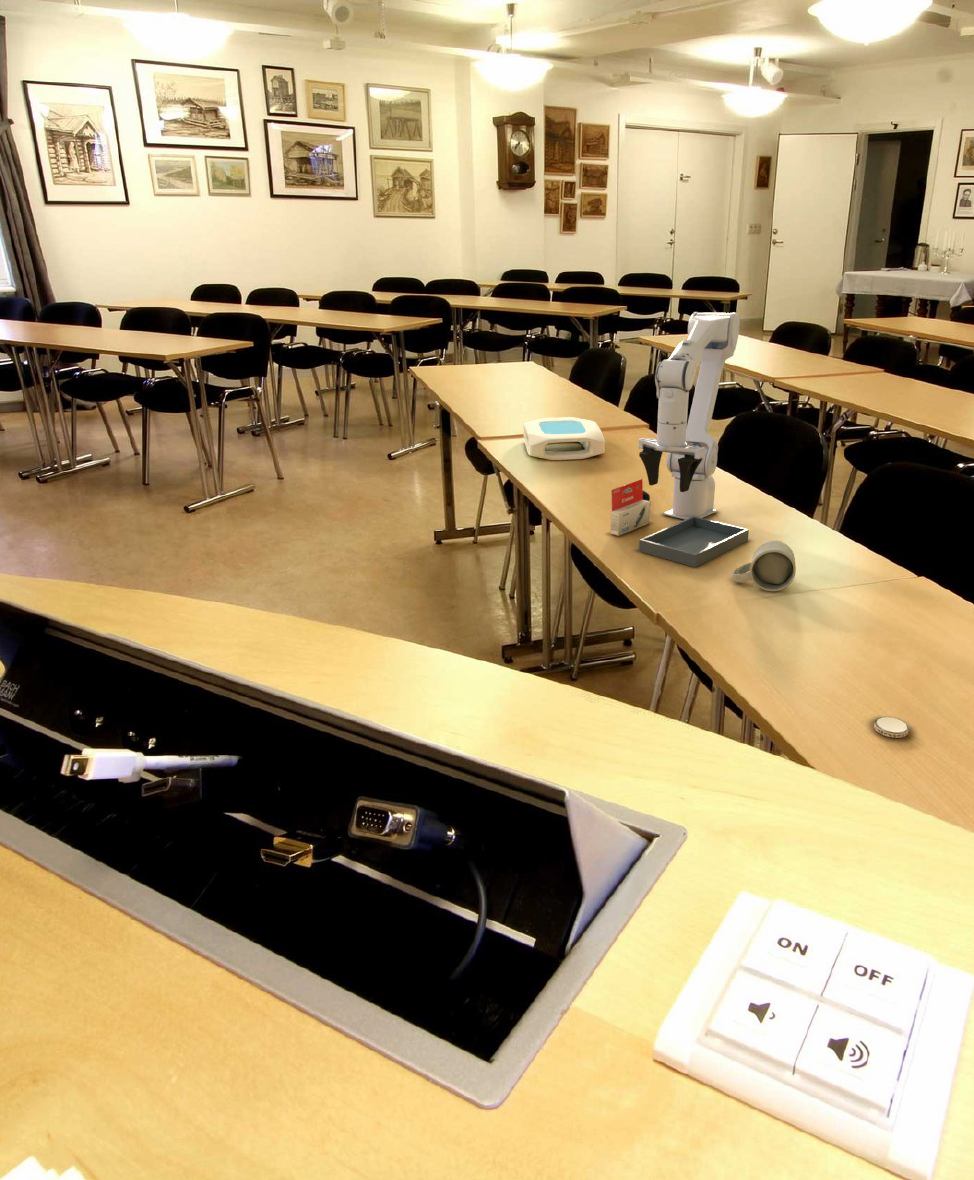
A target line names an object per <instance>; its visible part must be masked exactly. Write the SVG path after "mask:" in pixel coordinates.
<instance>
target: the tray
mask: <svg viewBox="0 0 974 1180" xmlns="http://www.w3.org/2000/svg"><path fill="white" fill-rule="evenodd" d="M749 535H750V529H748V528H744V527H742V526H741V527H740V526H737V525H732V524H728V523H724V522H719V521H715V520H711V519H707V518H705V517H703V518H699V517H695V516H693V517H690V518H688V519H686V520H684V519H682V520H681V521H679V522H677V523H675V524H672V525H670V526H667V527H665V528H663V529H660V530H658V531H656V532H653V533H651V534H649V535H647V536H644V537H643V538H639V540H638V552H640V553H643V554H647V555H650V556H654V557H658V558H661V559H665V560H668V561H672V562H675V563H678V564H682V565H686V566H689V567H692V568H697V567H699V566H701V565H703V564H704V563H707V562H709V561H710V560H712V559H714V558H717V557H718V556H720V555H723V554H724V553H726V552H728V551H730V550H732V549H735V548H736V547H738V546H740V545H742V544H744V543H746V542H749Z"/></svg>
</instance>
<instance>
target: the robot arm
mask: <svg viewBox="0 0 974 1180" xmlns="http://www.w3.org/2000/svg"><path fill="white" fill-rule="evenodd" d="M740 323H741V321H740V317H739V314H738V313H737V312H730V313H729V312H727V313H726V312H698V311H693V313H692V314H691V315H690V317H689V320H688V324H687V336H688V338H687V339H683V340H682V341H681V342H679V343H678V345H676V347H675V348H674V350H673V352H672V353H671V355H670V356H669V358H668V359H663V360H662V361H660V362H659V363H658V364H657V365H656V369H655V376H654V382H655V388H656V399H658V405H657V406H658V409H657V427H656V429H657V430H656V438H649V437H641V438H639V439H638V449H639V450H642V451H639V452H638V454H639V455H638V457H639V458H640V459H641V462H642V464H643V466H644V469H645V472H646V476H647V481H648V485H649V486H654V485H657V484H658V482H659V477H660V476H659V475H660V466H661V460H662V456H663V453H667V455H666V468H667V471H669V473H670V474H671V477H673V489H672V506H671V507H672V508H671V509H670V510H666V511H665V512H663V514H664V516H668V517H672V518H676V519H681V520H686V519H688V518H690V517H693V516H695V517H699V518H706V517H708V516H711V515H712V514H715V513H717V511H718V510H717V509H715V508H714V507H715V493H716V481H715V479H714V477H713V475H714V473H715V472H716V469H717V464H718V454H719V453H718V452H719V444H718V442H717V441H716V439H715V438H714V437H713V436H712V435H711V434H710V433H709V431H710V427H711V423H712V418H713V413H714V409H715V404H716V400H717V395H718V390H719V387H720V382H721V377H722V373H723V369H724V366H725V363H726V360H728V359H730V358H732V357H734V355H735V351H736V348H737V344H738V339H739V335H740V327H741V326H740ZM699 366H700V367H699ZM698 367H699V371H698V375H697V380H696V385H695V388H694V394H693V397H692V404H691V407H690V412H689V411H688V409H689V395H690V390H691V389H692V388H693V385H694V381H695V378H696V374H697V372H696V371H697V368H698ZM688 412H689V415H688Z"/></svg>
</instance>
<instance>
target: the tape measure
mask: <svg viewBox="0 0 974 1180" xmlns="http://www.w3.org/2000/svg"><path fill="white" fill-rule="evenodd" d="M631 491H632V489H631V488H629V487H627V488H626V489H625V490H624V491H623V494H626V493H628V492H631ZM643 500H646V501H650V500H651V496H650V494H649V492H646V491H645V490H643ZM650 502H651V501H650Z"/></svg>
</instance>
